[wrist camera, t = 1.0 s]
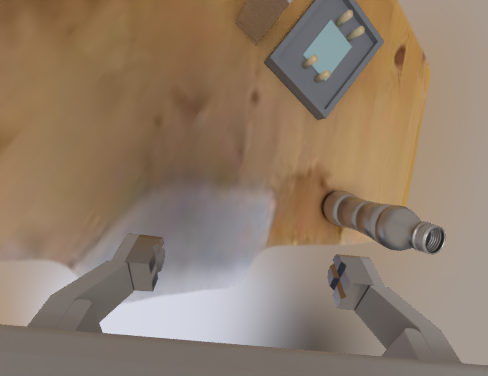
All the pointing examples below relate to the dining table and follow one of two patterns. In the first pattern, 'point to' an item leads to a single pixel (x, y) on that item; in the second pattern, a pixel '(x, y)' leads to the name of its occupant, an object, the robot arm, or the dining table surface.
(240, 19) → the block
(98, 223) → the dining table surface
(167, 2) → the dining table surface
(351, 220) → the plastic bottle
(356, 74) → the pin tray
